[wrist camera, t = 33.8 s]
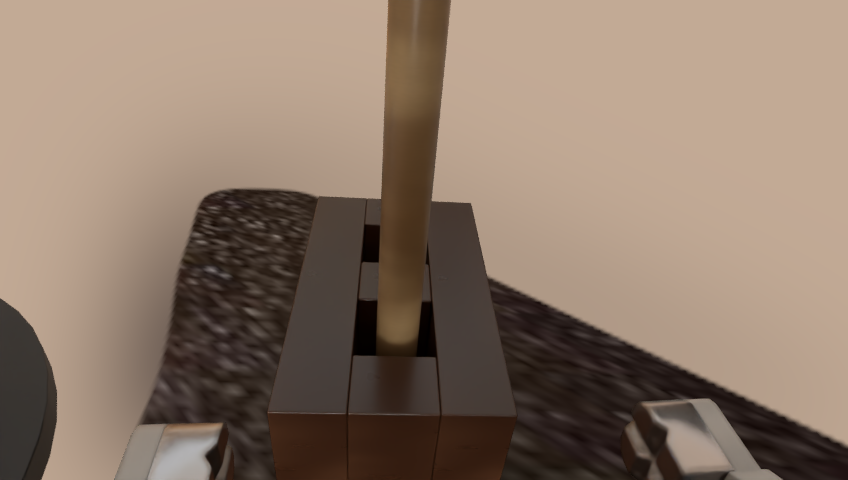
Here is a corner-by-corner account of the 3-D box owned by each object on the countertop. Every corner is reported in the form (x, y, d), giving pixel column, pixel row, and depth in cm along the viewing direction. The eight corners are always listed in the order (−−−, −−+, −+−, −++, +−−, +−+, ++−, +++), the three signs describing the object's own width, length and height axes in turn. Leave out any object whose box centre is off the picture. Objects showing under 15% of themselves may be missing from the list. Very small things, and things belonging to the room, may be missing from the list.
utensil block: (284, 541, 21) (266, 411, 17) (323, 310, 32) (318, 195, 28) (483, 541, 22) (518, 415, 17) (454, 315, 33) (471, 202, 28)
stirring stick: (371, 470, 24) (388, -17, 13) (372, 439, 25) (389, -27, 14) (406, 470, 24) (455, -12, 13) (406, 439, 26) (450, -23, 14)
